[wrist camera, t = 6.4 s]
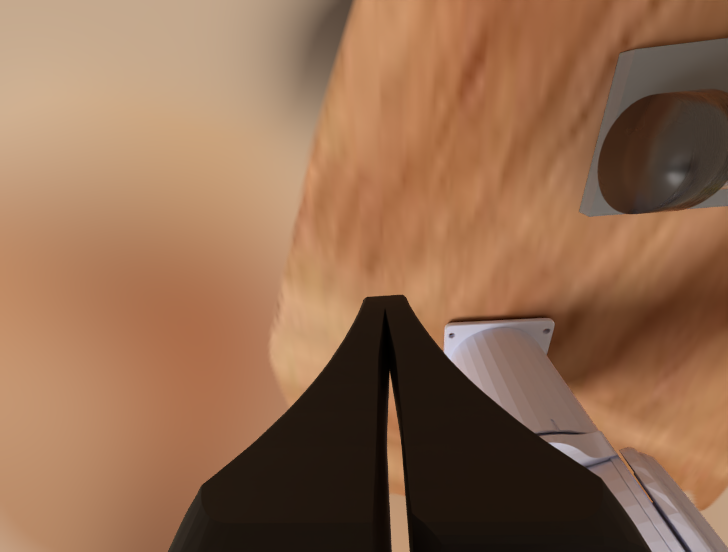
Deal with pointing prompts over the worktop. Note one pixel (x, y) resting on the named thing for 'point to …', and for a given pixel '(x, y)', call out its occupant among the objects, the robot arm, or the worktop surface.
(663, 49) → the shaft stand
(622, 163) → the shaft
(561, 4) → the worktop surface
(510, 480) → the robot arm
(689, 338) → the worktop surface
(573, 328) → the worktop surface
